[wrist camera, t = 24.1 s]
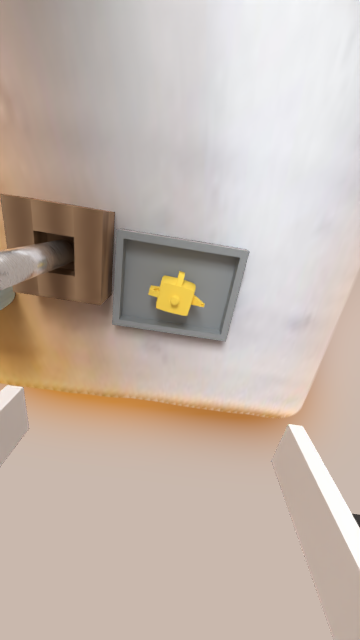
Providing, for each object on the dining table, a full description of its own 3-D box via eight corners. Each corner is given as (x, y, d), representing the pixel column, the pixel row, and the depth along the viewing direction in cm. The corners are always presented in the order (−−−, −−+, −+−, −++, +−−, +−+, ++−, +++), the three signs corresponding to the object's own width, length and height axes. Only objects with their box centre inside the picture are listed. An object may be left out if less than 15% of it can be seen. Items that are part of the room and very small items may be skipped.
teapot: (209, 276, 35) (212, 285, 30) (198, 310, 37) (199, 324, 33) (157, 261, 35) (152, 268, 30) (149, 297, 37) (143, 309, 32)
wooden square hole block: (34, 282, 37) (13, 291, 32) (26, 197, 32) (0, 193, 27) (111, 294, 37) (100, 305, 33) (114, 212, 32) (102, 211, 28)
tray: (116, 318, 39) (112, 324, 37) (121, 228, 33) (116, 229, 31) (223, 334, 40) (225, 341, 37) (245, 249, 34) (249, 251, 32)
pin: (54, 260, 33) (-28, 288, 21) (53, 237, 32) (-35, 250, 19) (77, 264, 34) (10, 294, 21) (77, 241, 32) (5, 257, 19)
